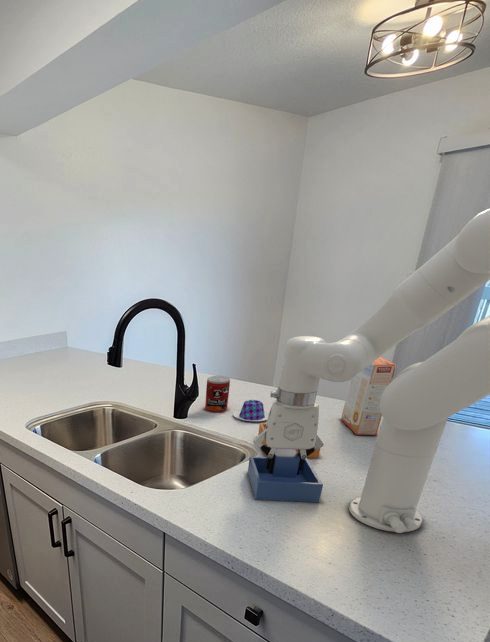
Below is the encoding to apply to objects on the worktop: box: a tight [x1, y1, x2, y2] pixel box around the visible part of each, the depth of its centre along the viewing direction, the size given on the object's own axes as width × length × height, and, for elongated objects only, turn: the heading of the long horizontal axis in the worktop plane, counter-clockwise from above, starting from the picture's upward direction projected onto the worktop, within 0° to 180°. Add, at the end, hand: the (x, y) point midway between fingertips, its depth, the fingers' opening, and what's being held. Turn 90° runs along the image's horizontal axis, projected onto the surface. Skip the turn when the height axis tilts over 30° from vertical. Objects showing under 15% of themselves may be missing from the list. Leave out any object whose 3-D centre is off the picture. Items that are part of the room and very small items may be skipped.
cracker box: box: [340, 356, 397, 436], centre depth 128 cm, size 14×6×21 cm, turn 168°
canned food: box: [204, 375, 231, 413], centre depth 152 cm, size 8×8×11 cm
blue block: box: [272, 449, 300, 478], centre depth 101 cm, size 5×5×5 cm
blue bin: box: [247, 456, 324, 503], centre depth 102 cm, size 13×13×5 cm
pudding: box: [232, 399, 269, 422], centre depth 145 cm, size 12×12×5 cm
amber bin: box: [257, 422, 321, 459], centre depth 122 cm, size 13×13×5 cm
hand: (282, 471), depth 102 cm, fingers closed on blue block, 5 cm apart
